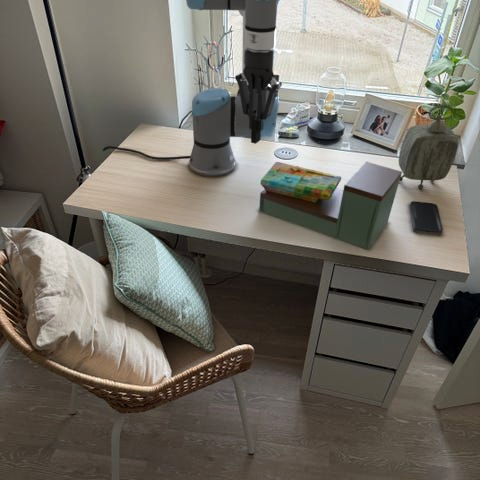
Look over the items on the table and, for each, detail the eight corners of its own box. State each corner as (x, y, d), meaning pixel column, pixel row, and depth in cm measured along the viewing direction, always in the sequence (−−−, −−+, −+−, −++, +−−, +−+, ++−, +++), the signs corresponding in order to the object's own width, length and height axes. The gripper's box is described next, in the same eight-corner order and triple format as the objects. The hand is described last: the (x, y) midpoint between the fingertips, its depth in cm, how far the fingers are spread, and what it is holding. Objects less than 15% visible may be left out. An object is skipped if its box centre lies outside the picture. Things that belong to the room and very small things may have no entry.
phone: (436, 203, 139) (443, 231, 129) (435, 206, 140) (441, 235, 130) (409, 200, 140) (414, 228, 130) (408, 203, 141) (412, 231, 131)
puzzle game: (275, 159, 137) (341, 173, 132) (274, 174, 140) (339, 188, 135) (261, 177, 130) (330, 193, 124) (260, 192, 133) (327, 208, 127)
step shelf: (259, 210, 137) (261, 159, 126) (283, 189, 146) (288, 139, 135) (368, 249, 125) (382, 196, 113) (387, 223, 134) (402, 171, 122)
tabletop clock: (435, 178, 152) (463, 99, 134) (444, 193, 146) (475, 112, 128) (392, 178, 152) (414, 99, 134) (399, 193, 146) (423, 111, 128)
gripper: (229, 47, 115) (229, 140, 132) (275, 57, 111) (269, 152, 127) (245, 40, 120) (243, 131, 137) (290, 49, 115) (282, 142, 132)
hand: (255, 141), depth 132 cm, fingers closed
